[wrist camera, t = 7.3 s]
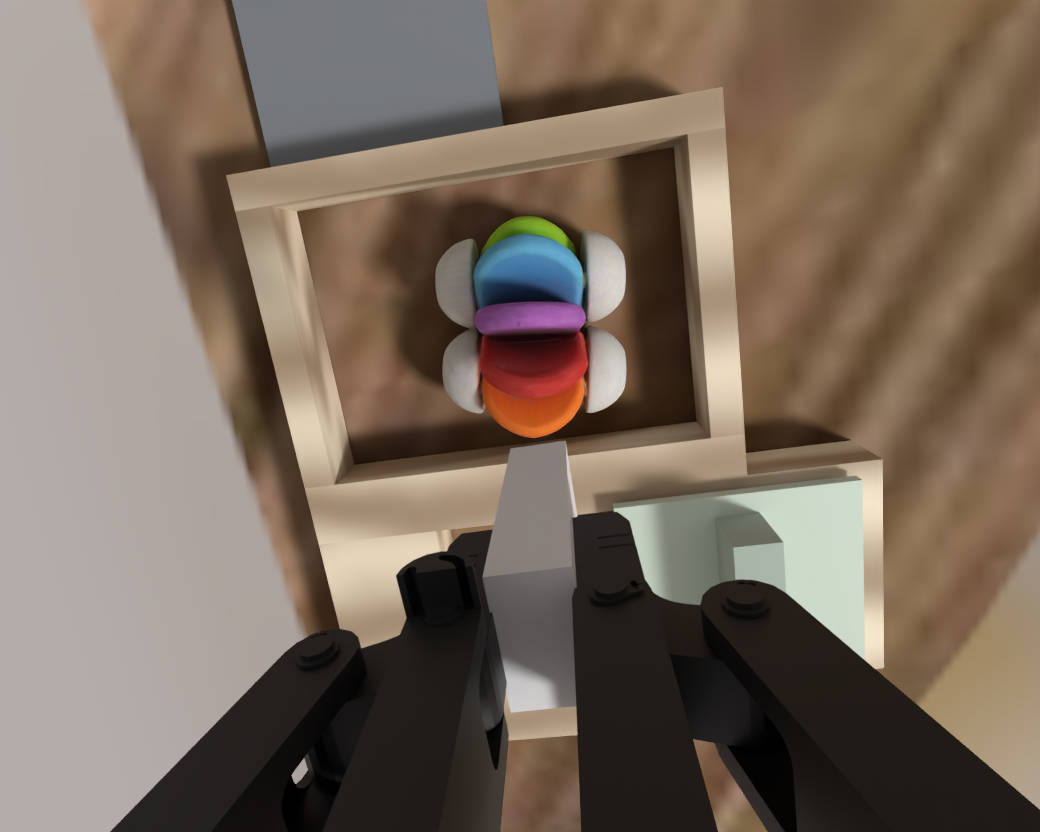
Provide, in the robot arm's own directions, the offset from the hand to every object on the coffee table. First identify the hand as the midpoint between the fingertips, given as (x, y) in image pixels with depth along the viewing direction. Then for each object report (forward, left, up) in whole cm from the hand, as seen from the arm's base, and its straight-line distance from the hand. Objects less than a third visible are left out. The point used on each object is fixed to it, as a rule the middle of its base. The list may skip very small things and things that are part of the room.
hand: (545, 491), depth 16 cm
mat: (-17, -6, -15) cm, 23 cm away
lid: (+10, +8, -11) cm, 17 cm away
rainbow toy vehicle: (-3, 0, -15) cm, 15 cm away
